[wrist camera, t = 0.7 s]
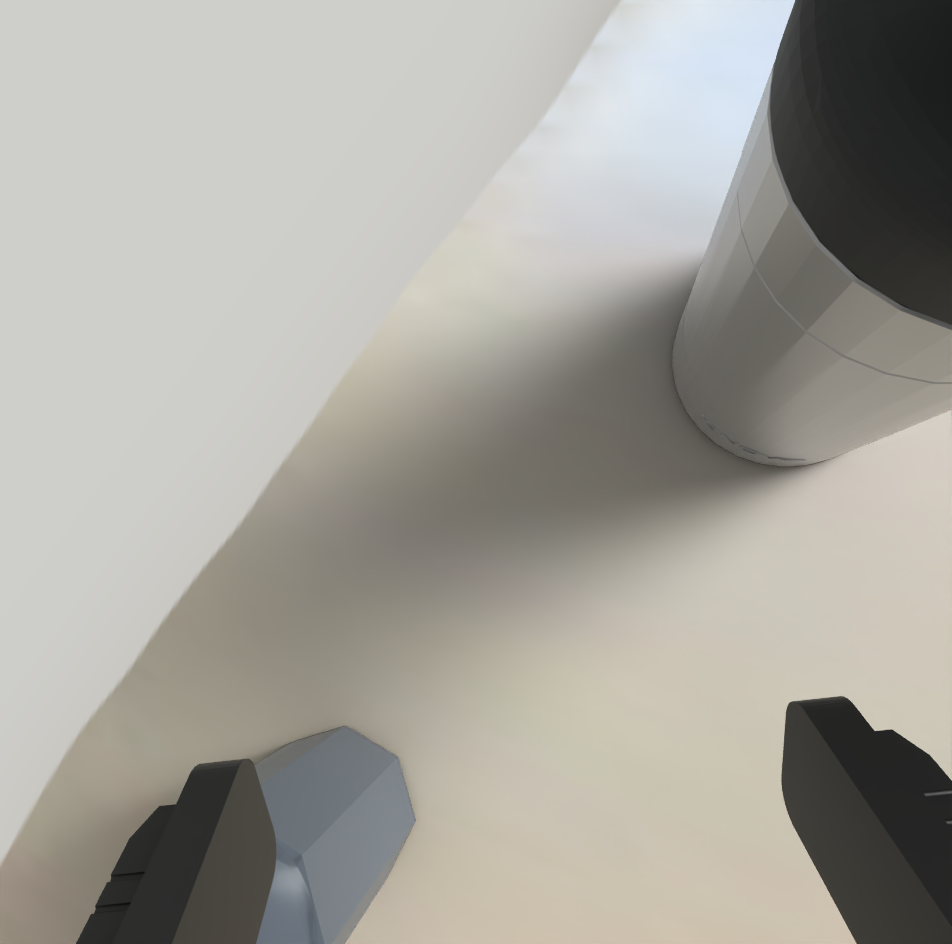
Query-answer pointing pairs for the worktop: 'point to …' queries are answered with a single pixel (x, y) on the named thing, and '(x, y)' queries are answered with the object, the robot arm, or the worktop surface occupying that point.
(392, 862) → the grey octagonal prism
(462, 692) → the worktop surface
